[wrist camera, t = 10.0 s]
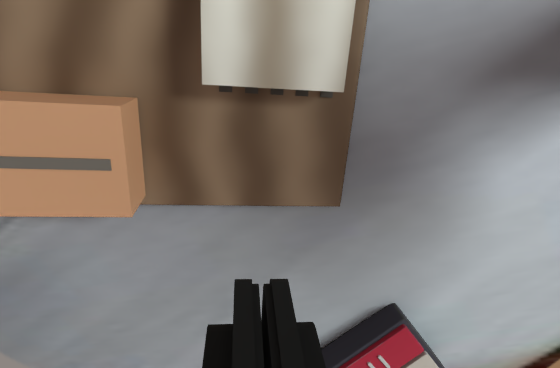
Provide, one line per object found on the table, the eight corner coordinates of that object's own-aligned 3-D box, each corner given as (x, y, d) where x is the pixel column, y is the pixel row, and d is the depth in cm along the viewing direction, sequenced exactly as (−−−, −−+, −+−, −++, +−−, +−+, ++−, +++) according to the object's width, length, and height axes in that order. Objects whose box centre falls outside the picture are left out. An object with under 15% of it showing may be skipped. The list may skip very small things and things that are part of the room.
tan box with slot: (137, 97, 25) (119, 106, 22) (145, 195, 28) (131, 217, 25) (-10, 90, 24) (-56, 98, 20) (15, 193, 27) (-21, 217, 23)
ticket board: (369, -44, 25) (394, -62, 21) (335, 199, 33) (349, 221, 28) (-50, -91, 22) (-118, -124, 17) (18, 195, 29) (-19, 220, 25)
